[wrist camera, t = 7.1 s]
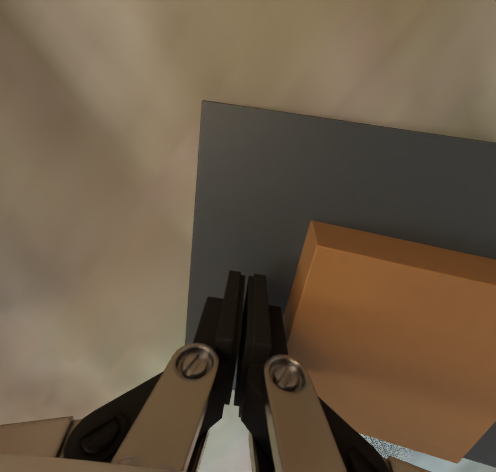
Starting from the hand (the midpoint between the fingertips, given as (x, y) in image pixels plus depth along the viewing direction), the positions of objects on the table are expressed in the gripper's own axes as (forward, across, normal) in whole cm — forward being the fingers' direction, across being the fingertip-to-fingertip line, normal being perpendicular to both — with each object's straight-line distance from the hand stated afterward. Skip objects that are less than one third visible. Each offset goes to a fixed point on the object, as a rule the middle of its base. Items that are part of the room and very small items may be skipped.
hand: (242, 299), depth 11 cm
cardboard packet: (0, -6, 0) cm, 6 cm away
